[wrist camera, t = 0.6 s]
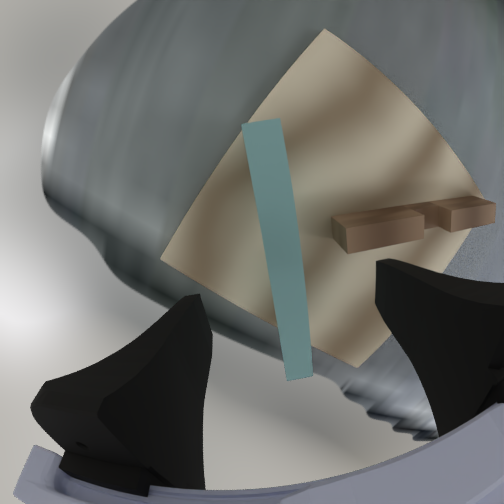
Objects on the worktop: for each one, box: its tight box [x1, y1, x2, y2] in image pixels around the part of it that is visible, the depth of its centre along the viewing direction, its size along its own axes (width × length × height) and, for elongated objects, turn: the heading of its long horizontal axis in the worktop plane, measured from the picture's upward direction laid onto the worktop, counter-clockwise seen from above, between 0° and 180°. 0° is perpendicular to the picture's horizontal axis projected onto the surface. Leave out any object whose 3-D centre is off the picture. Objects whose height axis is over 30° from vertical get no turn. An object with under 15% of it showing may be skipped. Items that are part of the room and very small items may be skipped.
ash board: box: [160, 29, 484, 368], centre depth 18 cm, size 20×20×1 cm
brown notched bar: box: [331, 196, 496, 254], centre depth 16 cm, size 14×2×3 cm, turn 101°
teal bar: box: [241, 118, 313, 381], centre depth 15 cm, size 14×2×6 cm, turn 11°
